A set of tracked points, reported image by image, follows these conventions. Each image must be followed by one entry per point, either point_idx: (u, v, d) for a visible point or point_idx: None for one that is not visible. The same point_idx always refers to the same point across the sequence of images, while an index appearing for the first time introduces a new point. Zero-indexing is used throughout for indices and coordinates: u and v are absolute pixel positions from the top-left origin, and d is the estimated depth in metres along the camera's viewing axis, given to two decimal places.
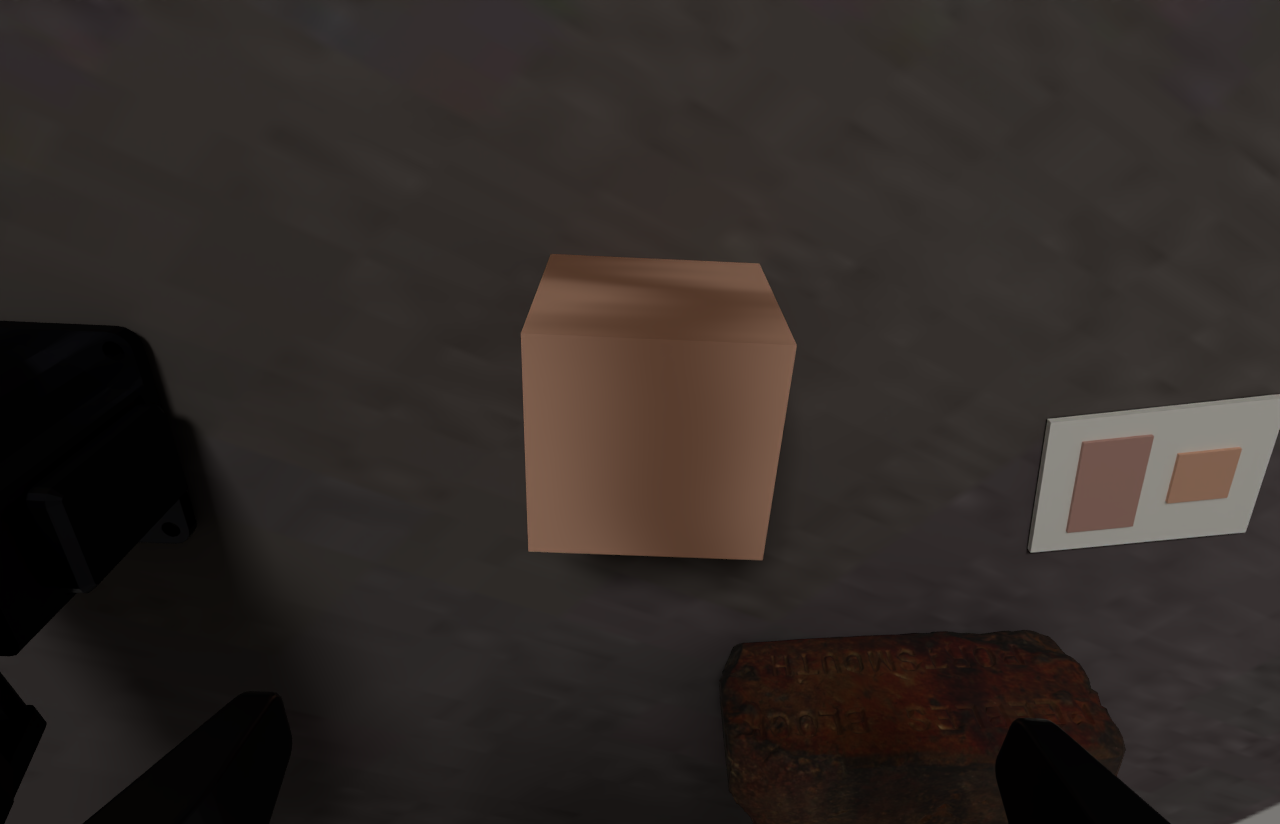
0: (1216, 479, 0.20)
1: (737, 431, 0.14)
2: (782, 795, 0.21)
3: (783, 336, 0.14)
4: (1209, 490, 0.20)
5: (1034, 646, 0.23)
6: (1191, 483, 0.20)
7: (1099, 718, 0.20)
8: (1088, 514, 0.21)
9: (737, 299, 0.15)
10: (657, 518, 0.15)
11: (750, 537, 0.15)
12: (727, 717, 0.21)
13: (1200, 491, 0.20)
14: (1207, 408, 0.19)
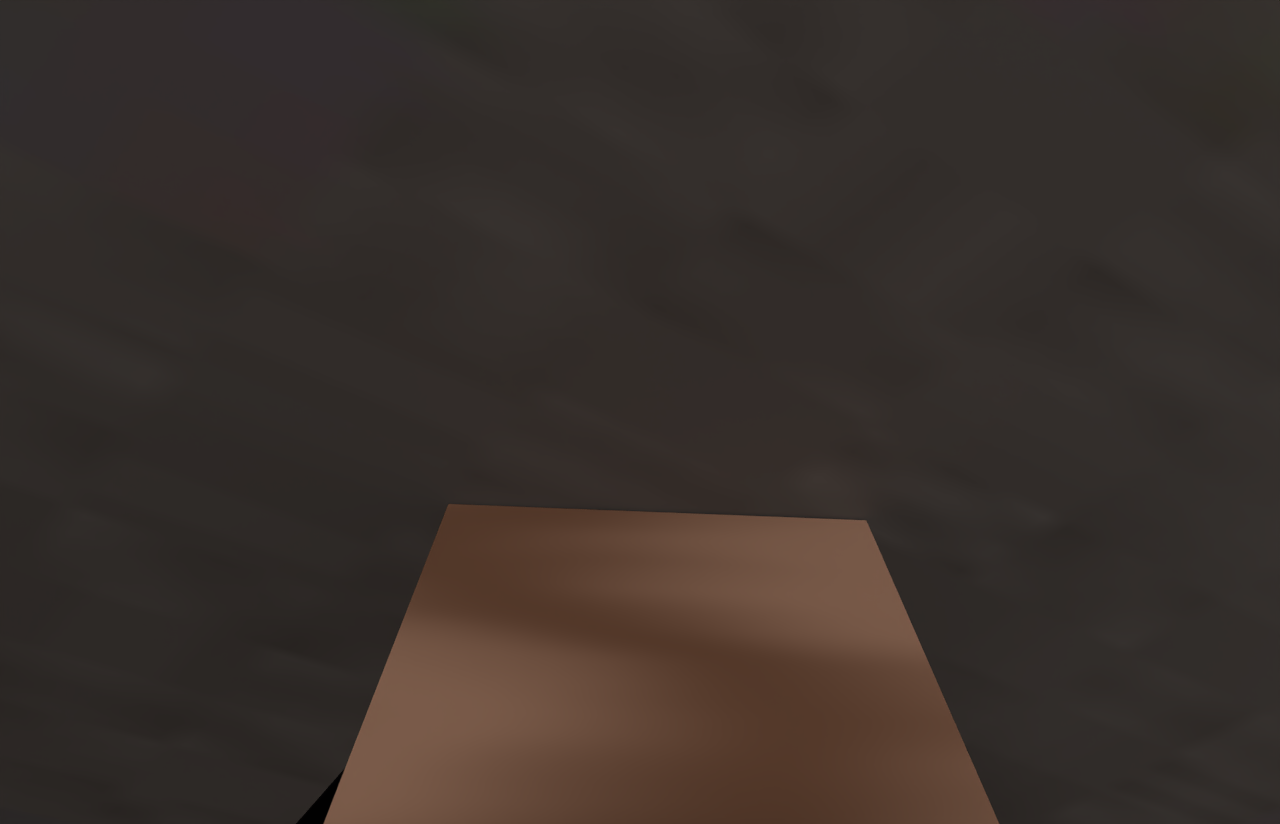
0: None
1: None
2: None
3: None
4: None
5: None
6: None
7: None
8: None
9: (854, 703, 0.06)
10: None
11: None
12: None
13: None
14: None
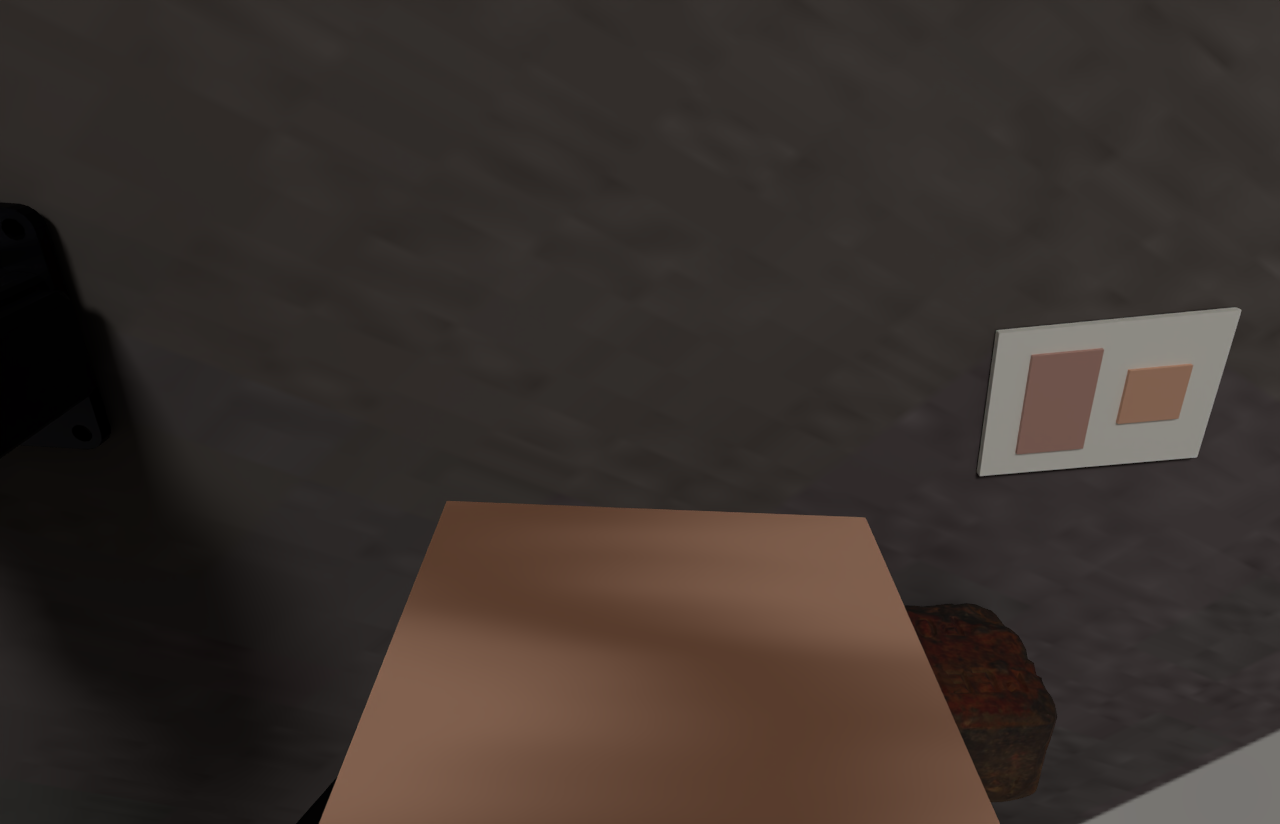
0: (1167, 398, 0.20)
1: None
2: None
3: None
4: (1161, 410, 0.20)
5: (975, 618, 0.23)
6: (1142, 401, 0.20)
7: (1033, 686, 0.20)
8: (1037, 435, 0.20)
9: (854, 699, 0.06)
10: None
11: None
12: None
13: (1150, 410, 0.20)
14: (1158, 320, 0.19)
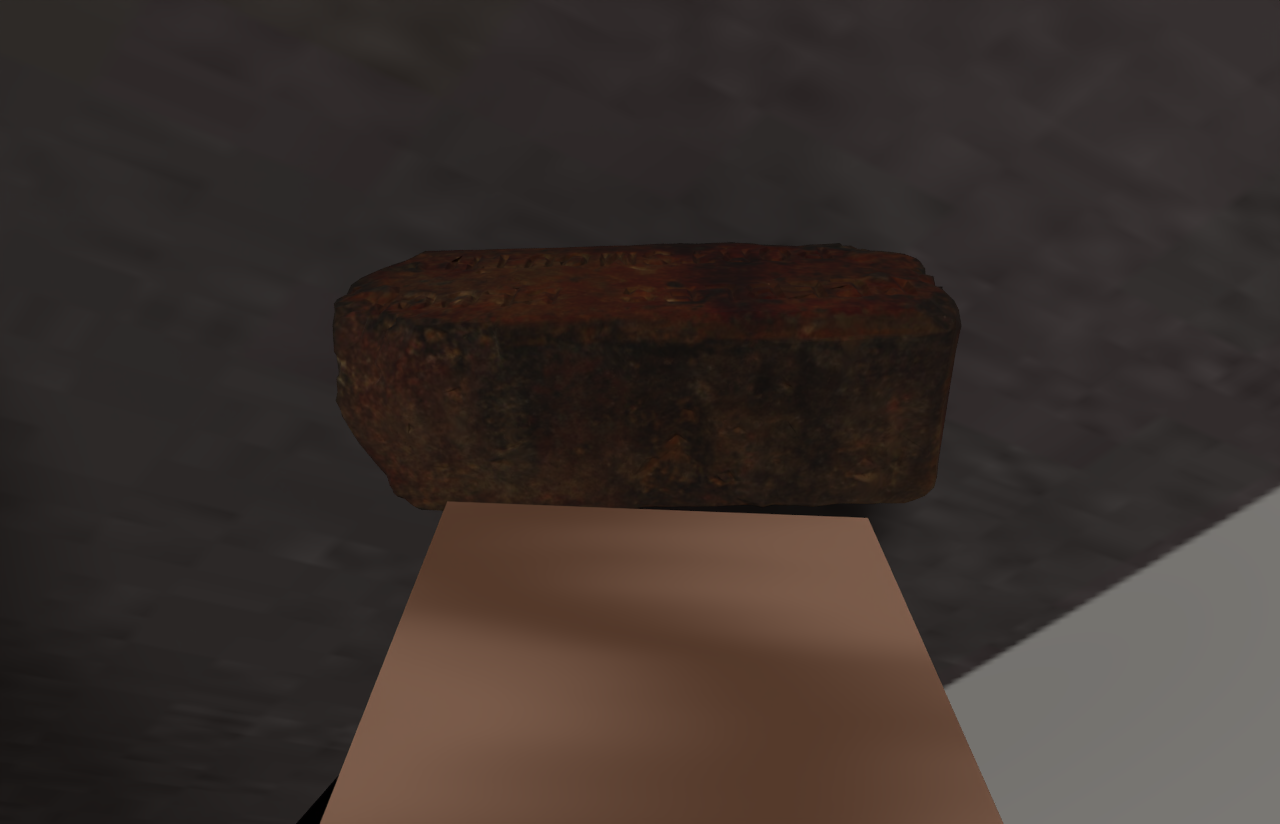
0: None
1: None
2: (409, 407, 0.12)
3: None
4: None
5: (854, 249, 0.15)
6: None
7: (926, 290, 0.12)
8: None
9: (857, 701, 0.06)
10: None
11: None
12: (342, 298, 0.13)
13: None
14: None
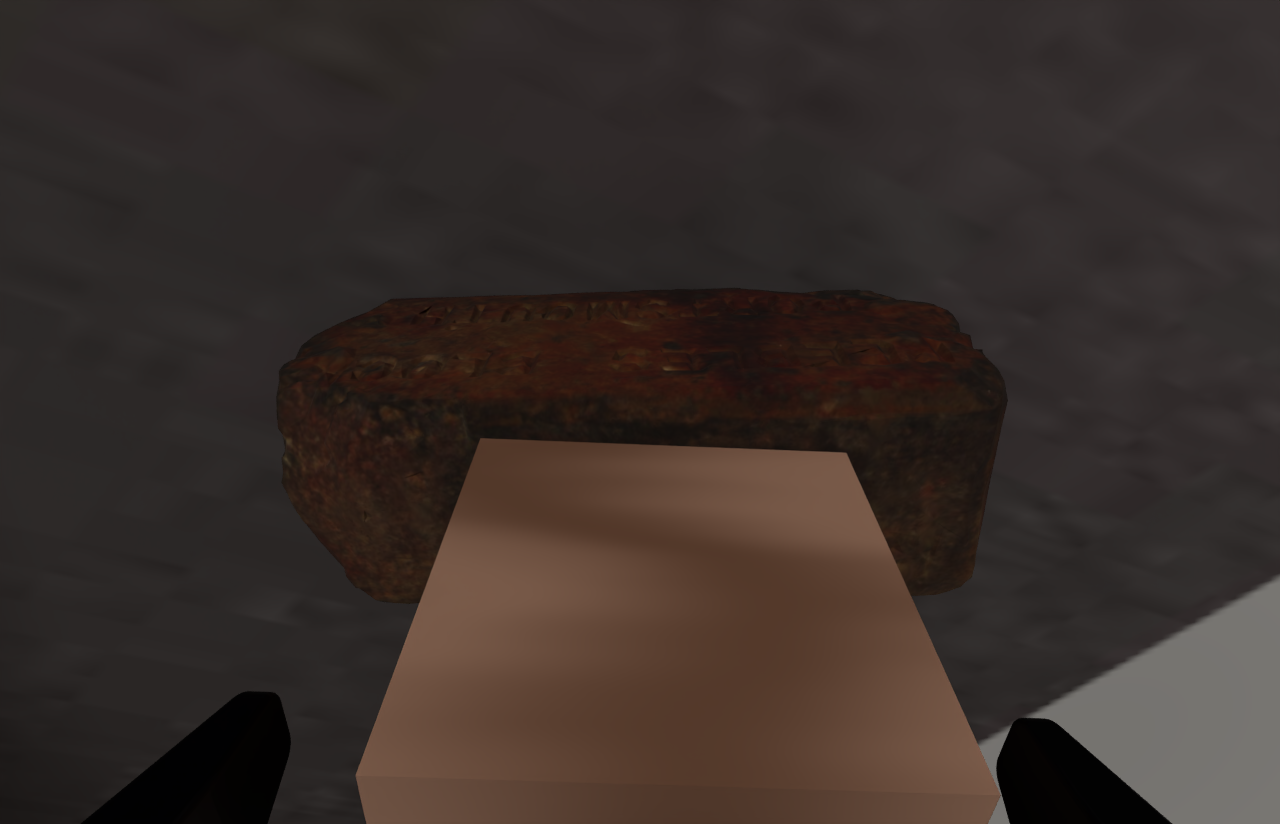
0: None
1: None
2: (366, 494, 0.11)
3: (959, 750, 0.06)
4: None
5: (875, 297, 0.13)
6: None
7: (964, 356, 0.11)
8: None
9: (829, 587, 0.08)
10: None
11: None
12: (289, 363, 0.11)
13: None
14: None
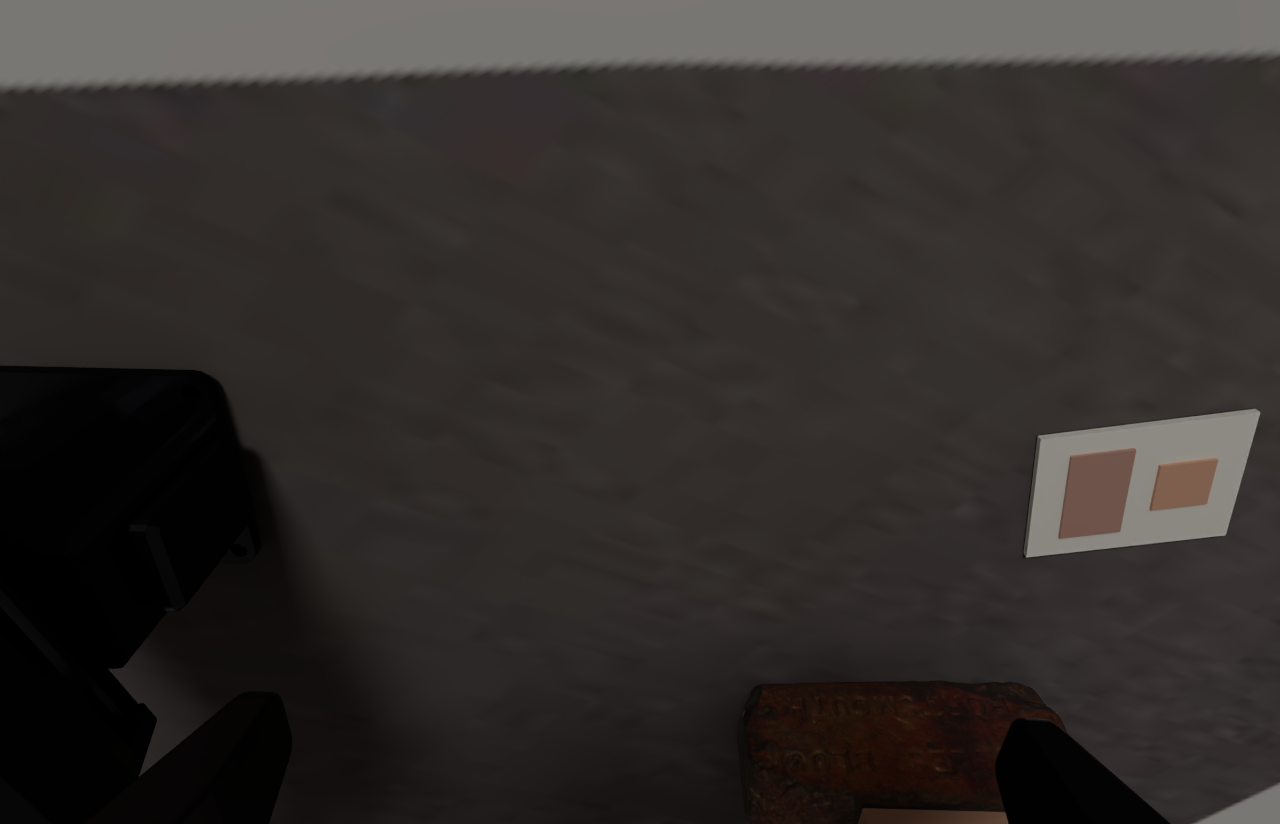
0: (1195, 487, 0.22)
1: None
2: (797, 823, 0.23)
3: None
4: (1190, 498, 0.22)
5: (1019, 697, 0.26)
6: (1172, 491, 0.22)
7: None
8: (1078, 522, 0.23)
9: None
10: None
11: None
12: (750, 752, 0.24)
13: (1181, 498, 0.22)
14: (1184, 423, 0.21)
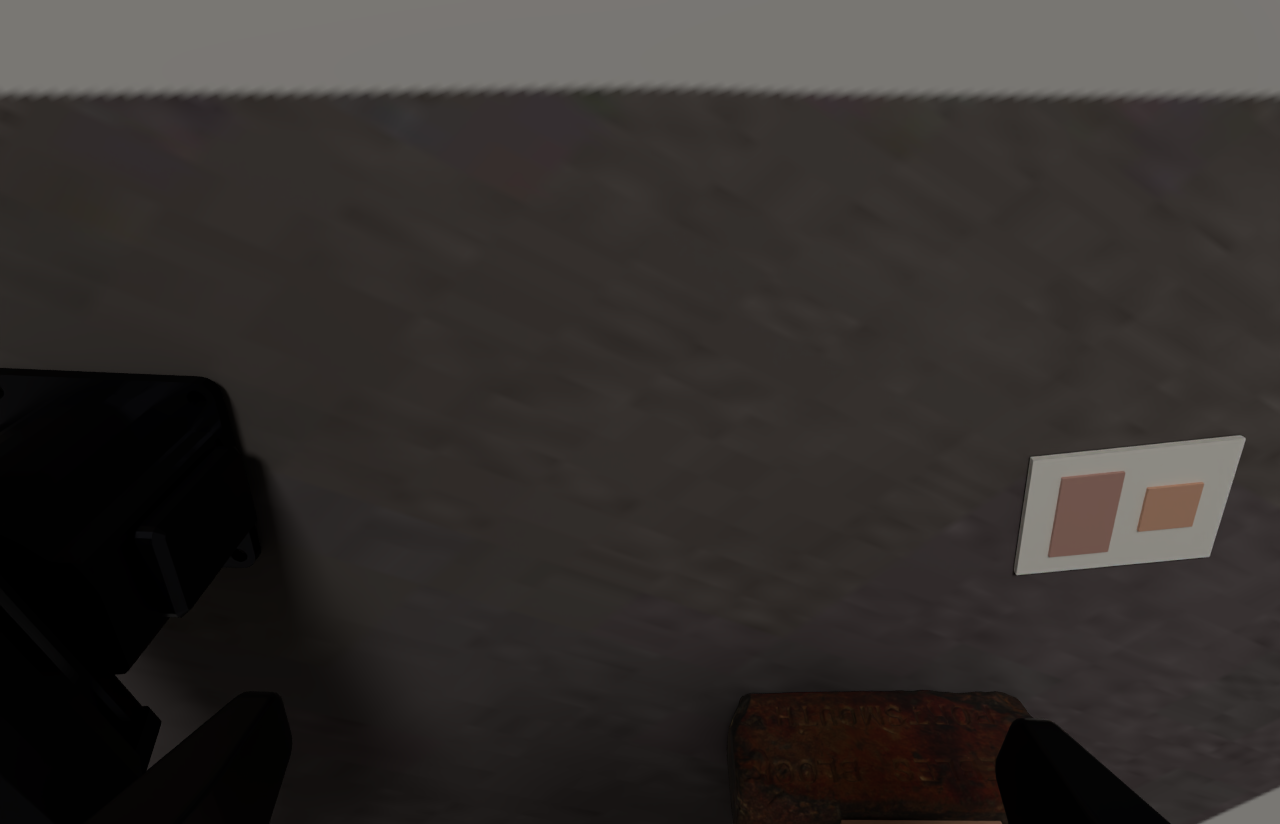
0: (1182, 510, 0.22)
1: None
2: None
3: None
4: (1176, 519, 0.23)
5: (1003, 707, 0.26)
6: (1159, 513, 0.23)
7: None
8: (1067, 541, 0.23)
9: None
10: None
11: None
12: (738, 762, 0.24)
13: (1167, 520, 0.23)
14: (1172, 448, 0.22)
